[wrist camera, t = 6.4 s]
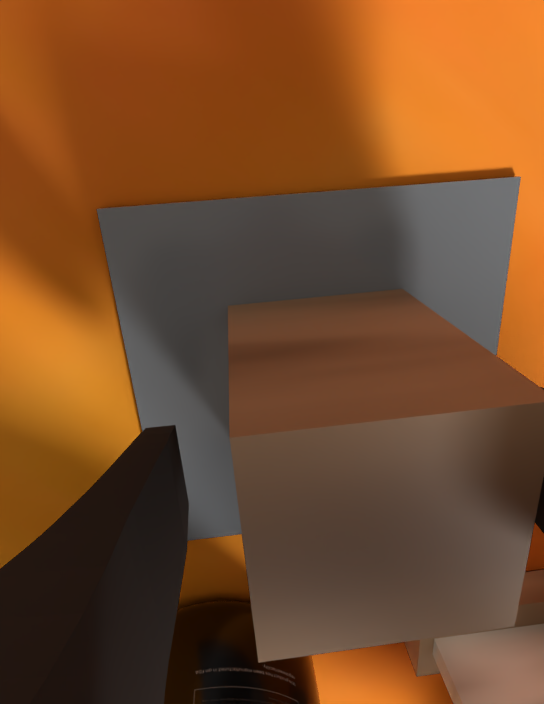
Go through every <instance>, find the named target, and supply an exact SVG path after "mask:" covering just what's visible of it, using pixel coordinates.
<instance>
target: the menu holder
mask: <svg viewBox="0 0 544 704" xmlns="http://www.w3.org/2000/svg"><path fill="white" fill-rule="evenodd" d="M405 646H406V649H407V652H408V654H409V657H410V660H411V662H412V665H413V668H414V671H415V673H416V676H417V677H418V676H425V675H432V674H439V673H441V676H442V678H443V680H444V683H445V685H446V687H447V690H448V692H449V695H450V697H451V699H452V702H453V704H544V570H537V571H529V572H525V575H524V580H523V585H522V590H521V595H520V600H519V606H518V611H517V616H516V621H515V626H513V627H506V628H499V629H492V630H485V631H478V632H471V633H464V634H457V635H450V636H443V637H436V638H429V639H422V640H414V641H407V642H405Z"/></svg>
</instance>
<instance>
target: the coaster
mask: <svg viewBox="0 0 544 704" xmlns="http://www.w3.org/2000/svg"><path fill="white" fill-rule="evenodd" d="M520 178H521V177H503V178H490V179H477V180H464V181H451V182H438V183H425V184H412V185H398V186H385V187H372V188H359V189H346V190H333V191H320V192H307V193H294V194H280V195H267V196H254V197H241V198H228V199H215V200H202V201H189V202H176V203H162V204H149V205H136V206H123V207H110V208H98V209H97V214H98V219H99V223H100V228H101V233H102V238H103V243H104V248H105V253H106V257H107V262H108V267H109V272H110V277H111V282H112V287H113V291H114V296H115V301H116V306H117V311H118V316H119V321H120V325H121V330H122V335H123V340H124V345H125V350H126V354H127V359H128V364H129V369H130V374H131V379H132V384H133V388H134V393H135V398H136V403H137V408H138V413H139V418H140V422H141V427H142V431H143V430H144V429H145V428H150V427H160V426H169V425H175V426H176V431H177V437H178V443H179V449H180V455H181V460H182V466H183V472H184V478H185V484H186V489H187V495H188V501H189V516H188V540H196V539H205V538H213V537H221V536H230V535H238V534H242V531H241V523H240V515H239V508H238V500H237V492H236V484H235V476H234V469H233V461H232V453H231V445H230V436H229V355H228V306H231V305H241V304H251V303H261V302H272V301H282V300H292V299H303V298H313V297H323V296H333V295H344V294H354V293H364V292H375V291H385V290H395V289H404V290H405V291H406V292H408V293H409V294H411V295H412V296H413V297H415V298H416V299H417V300H419V301H420V302H422V303H423V304H424V305H426V306H427V307H429V308H430V309H431V310H433V311H434V312H436V313H437V314H438V315H440V316H441V317H443V318H444V319H445V320H447V321H448V322H450V323H451V324H452V325H454V326H455V327H457V328H458V329H459V330H461V331H462V332H464V333H465V334H466V335H468V336H469V337H470V338H472V339H473V340H475V341H476V342H477V343H479V344H480V345H482V346H483V347H484V348H486V349H487V350H489V351H490V352H491V353H493V354H494V355H497V347H498V340H499V332H500V325H501V318H502V310H503V303H504V296H505V288H506V281H507V274H508V266H509V259H510V251H511V244H512V237H513V229H514V222H515V215H516V207H517V200H518V193H519V185H520ZM188 540H187V541H188Z"/></svg>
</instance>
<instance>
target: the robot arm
mask: <svg viewBox="0 0 544 704" xmlns="http://www.w3.org/2000/svg"><path fill="white" fill-rule="evenodd" d="M540 388H542V387H540ZM542 389H543V390H544V388H542ZM188 516H189V501H188V495H187V489H186V484H185V478H184V472H183V466H182V460H181V455H180V449H179V443H178V437H177V431H176V426H175V425H169V426H160V427H150V428H145V429H144V430H143V431H142V432H141V433H140V435H139V436H138V437H137V438H136V439H135V440H134V441H133V442H132V443H131V445H130V446H129V447H128V448H127V449H126V450H125V451H124V452H123V453H122V455H121V456H120V457H119V458H118V459H117V460H116V461H115V462H114V463H113V465H112V466H111V467H110V468H109V469H108V470H107V471H106V472H105V473H104V474H103V475H102V476H101V477H100V479H99V480H98V481H97V482H96V483H95V484H94V485H93V486H92V487H91V488H90V489H89V490H88V491H87V492H86V493H85V494H84V495H83V496H82V497H81V498H80V499H79V500H78V501H77V502H76V503H75V504H74V505H72V506H71V507H70V508H69V509H68V510H67V511H66V512H65V513H64V514H63V515H62V516H61V517H60V518H59V519H58V520H57V521H56V522H55V523H54V524H53V525H52V526H51V527H49V528H48V529H47V530H46V531H45V532H44V533H43V534H42V535H41V536H39V537H38V538H37V539H36V540H35V541H34V542H32V543H31V544H30V545H29V546H28V547H27V548H25V549H24V550H23V551H22V552H20V553H19V554H18V555H17V556H15V557H14V558H13V559H12V560H11V561H9V562H8V563H7V564H6V565H4V566H3V567H2V568H1V569H0V704H164V697H165V687H166V679H167V671H168V663H169V657H170V651H171V645H172V639H173V633H174V626H175V620H176V614H177V608H178V602H179V596H180V590H181V584H182V578H183V571H184V565H185V559H186V552H187V540H188ZM535 523H536V524H537V526H538V527H539V528H540V529H541V531H542V532H543V533H544V477H543V482H542V487H541V492H540V497H539V502H538V508H537V513H536V518H535Z"/></svg>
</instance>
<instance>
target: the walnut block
mask: <svg viewBox="0 0 544 704" xmlns="http://www.w3.org/2000/svg"><path fill="white" fill-rule="evenodd" d="M228 355H229V436H230V445H231V453H232V461H233V469H234V476H235V484H236V492H237V500H238V508H239V515H240V523H241V531H242V539H243V546H244V554H245V562H246V570H247V577H248V585H249V593H250V601H251V609H252V616H253V624H254V632H255V640H256V647H257V655H258V663H260V662H267V661H274V660H281V659H288V658H295V657H302V656H309V655H316V654H323V653H330V652H337V651H344V650H351V649H358V648H365V647H372V646H379V645H386V644H393V643H400V642H407V641H414V640H422V639H429V638H436V637H443V636H450V635H457V634H464V633H471V632H478V631H485V630H492V629H499V628H506V627H513V626H515V621H516V616H517V611H518V606H519V600H520V595H521V590H522V585H523V580H524V575H525V569H526V564H527V559H528V554H529V549H530V544H531V538H532V533H533V528H534V523H535V518H536V513H537V508H538V502H539V497H540V492H541V487H542V482H543V477H544V390H543V389H542V388H540V387H539V386H537V385H536V384H535V383H533V382H532V381H530V380H529V379H528V378H526V377H525V376H524V375H522V374H521V373H519V372H518V371H517V370H515V369H514V368H512V367H511V366H510V365H508V364H507V363H505V362H504V361H503V360H501V359H500V358H498V357H497V356H496V355H494V354H493V353H491V352H490V351H489V350H487V349H486V348H484V347H483V346H482V345H480V344H479V343H477V342H476V341H475V340H473V339H472V338H470V337H469V336H468V335H466V334H465V333H464V332H462V331H461V330H459V329H458V328H457V327H455V326H454V325H452V324H451V323H450V322H448V321H447V320H445V319H444V318H443V317H441V316H440V315H438V314H437V313H436V312H434V311H433V310H431V309H430V308H429V307H427V306H426V305H424V304H423V303H422V302H420V301H419V300H417V299H416V298H415V297H413V296H412V295H411V294H409V293H408V292H406V291H405V290H404V289H395V290H385V291H375V292H364V293H354V294H344V295H333V296H323V297H313V298H303V299H292V300H282V301H272V302H261V303H251V304H241V305H231V306H228Z"/></svg>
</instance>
